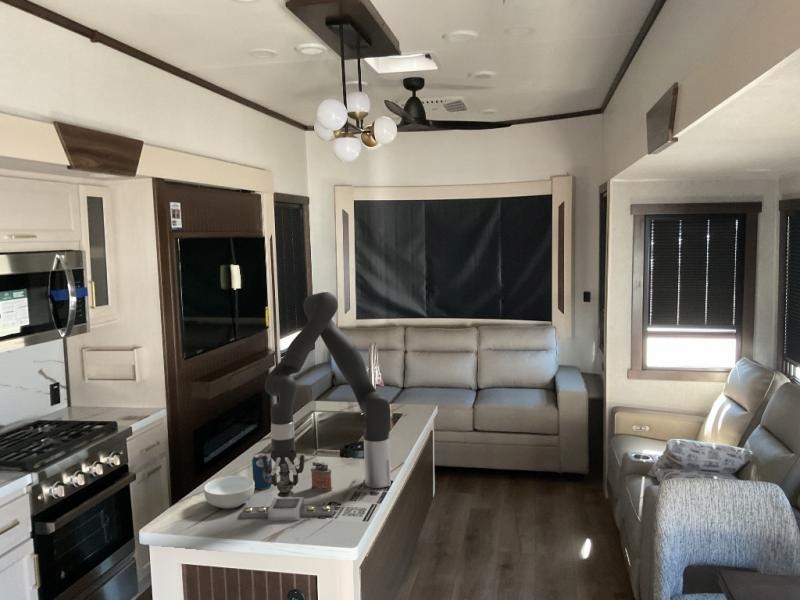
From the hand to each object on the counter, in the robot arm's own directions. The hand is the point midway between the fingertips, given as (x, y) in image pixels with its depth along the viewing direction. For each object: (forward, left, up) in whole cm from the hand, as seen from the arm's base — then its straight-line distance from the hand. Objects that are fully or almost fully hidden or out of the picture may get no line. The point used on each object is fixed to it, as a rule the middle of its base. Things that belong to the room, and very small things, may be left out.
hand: (285, 484), depth 216 cm
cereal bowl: (+21, -9, -10) cm, 25 cm away
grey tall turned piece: (0, 0, -3) cm, 3 cm away
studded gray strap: (0, 0, -10) cm, 10 cm away
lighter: (-9, -20, -10) cm, 24 cm away
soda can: (+13, -24, -10) cm, 29 cm away
